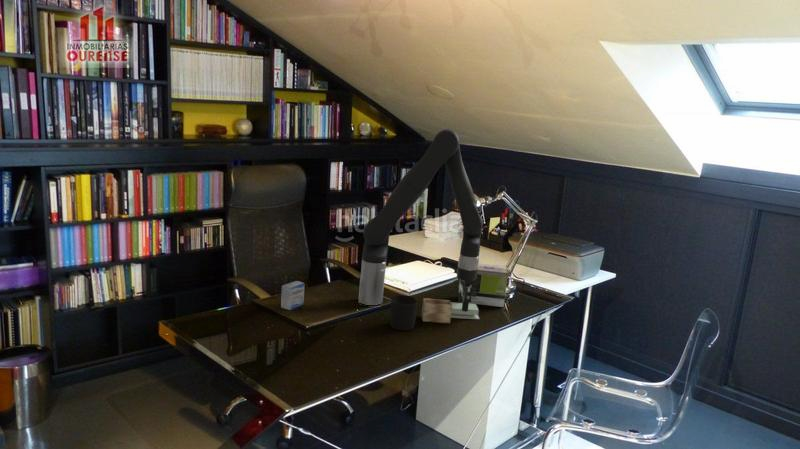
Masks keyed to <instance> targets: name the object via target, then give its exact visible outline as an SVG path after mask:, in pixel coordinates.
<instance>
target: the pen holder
mask: <svg viewBox="0 0 800 449" xmlns="http://www.w3.org/2000/svg"><path fill="white" fill-rule="evenodd" d="M418 305H419V302H418V301H417V300H416V299H415V297H414V296H412V295H406V294H397V295H394V296H392V297H391V299H390V312H389V313H390V314H389V315H390V316H389V318H390V320H389V326H390V327H391V328H392V329H394V330H396V331H403V332H407V331H412V330H413V329H414V328H415V325H416V324H415V323H416V319H417V311H418Z"/></svg>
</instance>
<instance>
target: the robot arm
mask: <svg viewBox="0 0 800 449" xmlns="http://www.w3.org/2000/svg"><path fill="white" fill-rule="evenodd" d="M460 142H461V141H460V138H459V135H458V134H457V132H455V131H454V130H453V129H449V128H447V129H442V130H440V131H438V133H436V135H435V136H434V138H433V140H432V141H431V143H430V145H429V147H428V149H427V150H426V151H425V153H424V154H423V156H422V157H421V158H420V159H419V160H418V161H417V162H416V163H415V164H414V165H413V166H412V167H411V168H410V169H409V170H408V171H407V173H405V175H404V176H403V177H402V178H401V179H400V181H399V182H398V183H397V185H396V186H395V187H394V189H393V191H392V192H391V194H390V196H388V199H387V200H386V202H385V203H384V206H383V207H382V208H381V210H379V212H378V213H377V214H376V215H375V216H374V217H372V218H371V219H370V220H368V221H367V223H365V224H366V225H365V226H364V229H363V238H364V243H363V244H364V245H363V250H362V254H361V255H362V256H361V257H362V258H361V270H360V276H359V288H358V290H359V291H358V303H362V304H365V305H378V304H381V303H382V304H383V300H384V286H385V277H386V276H385V275H386V267H387V266H386V265H387V257H388V251H389V243H390V242H389V241H390V233H391V232H392V230H393V229H394V227H395V225H396V224H397V223H398V222H399V220H400V219H401V218H402V217H403V216H404V215H405V214H406V213H407V212H408V211H410V209H411V208H412V206H413V205H414V204H416V202H417V201H418V199H419V198H420V197H421V196H422V195H423V194H424V192H426V190H427V188H428V186H429V185H430V184H431V182H432V180H433V178H434V177H435V175H436V173H437V172H438V171H439V170H440V168H441V167H442V166H443V165H444V164H445V167H446V172H447V173H448V178H449V182H450V186H451V190H452V194H453V197H454V200H455V202H456V206H457V208H458V210H459V215H460V220H461V223H462V227H463V232H462V233H463V235H462V240H461V243H460V251H459V257H458V263H457V270H456V271H457V272H456V277H457V279H459V282H458V288H457V289H458V300H457V301H458V302H457V303H462V311H466V312H467V311H468V305H469V304H470V303H469V302H471V295H472V289H473V288H472V284H471V281H474V280H476V279H477V272H478V264H480V257H479V256H480V251H481V236H482V231H483V228H484V220H483V217H482V216H481V215H480V213H479V210H478V207H477V201H476V198H475V194H474V191H473V187H472V186H471V182H470V179H469V176H468V174H467V172H466V168H465V166H464V163H463V158H462V154H461V146H460ZM467 296H468V299H467ZM362 304H361V305H362ZM382 304H381V305H382ZM365 305H364V306H365Z"/></svg>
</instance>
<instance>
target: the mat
mask: <svg viewBox="0 0 800 449" xmlns="http://www.w3.org/2000/svg"><path fill="white" fill-rule="evenodd" d="M452 318H453V319H466V320H468V319H469V320H480V317H479V314H478V315H473V316H470V315H455V314H452V313H451V319H452Z"/></svg>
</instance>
